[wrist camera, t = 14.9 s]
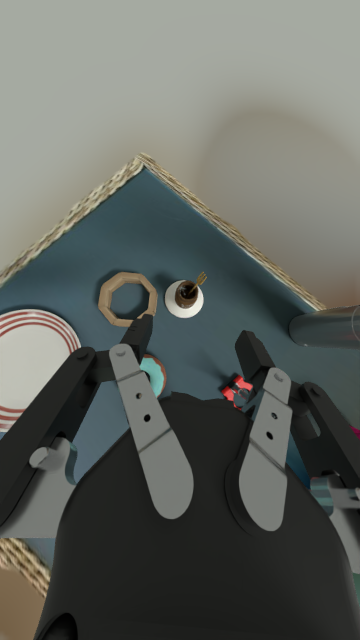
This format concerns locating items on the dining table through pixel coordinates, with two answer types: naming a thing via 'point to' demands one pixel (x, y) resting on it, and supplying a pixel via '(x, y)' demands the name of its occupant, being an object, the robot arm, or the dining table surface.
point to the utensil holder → (188, 293)
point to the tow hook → (236, 389)
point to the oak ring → (116, 283)
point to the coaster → (175, 308)
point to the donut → (154, 373)
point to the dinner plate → (29, 357)
